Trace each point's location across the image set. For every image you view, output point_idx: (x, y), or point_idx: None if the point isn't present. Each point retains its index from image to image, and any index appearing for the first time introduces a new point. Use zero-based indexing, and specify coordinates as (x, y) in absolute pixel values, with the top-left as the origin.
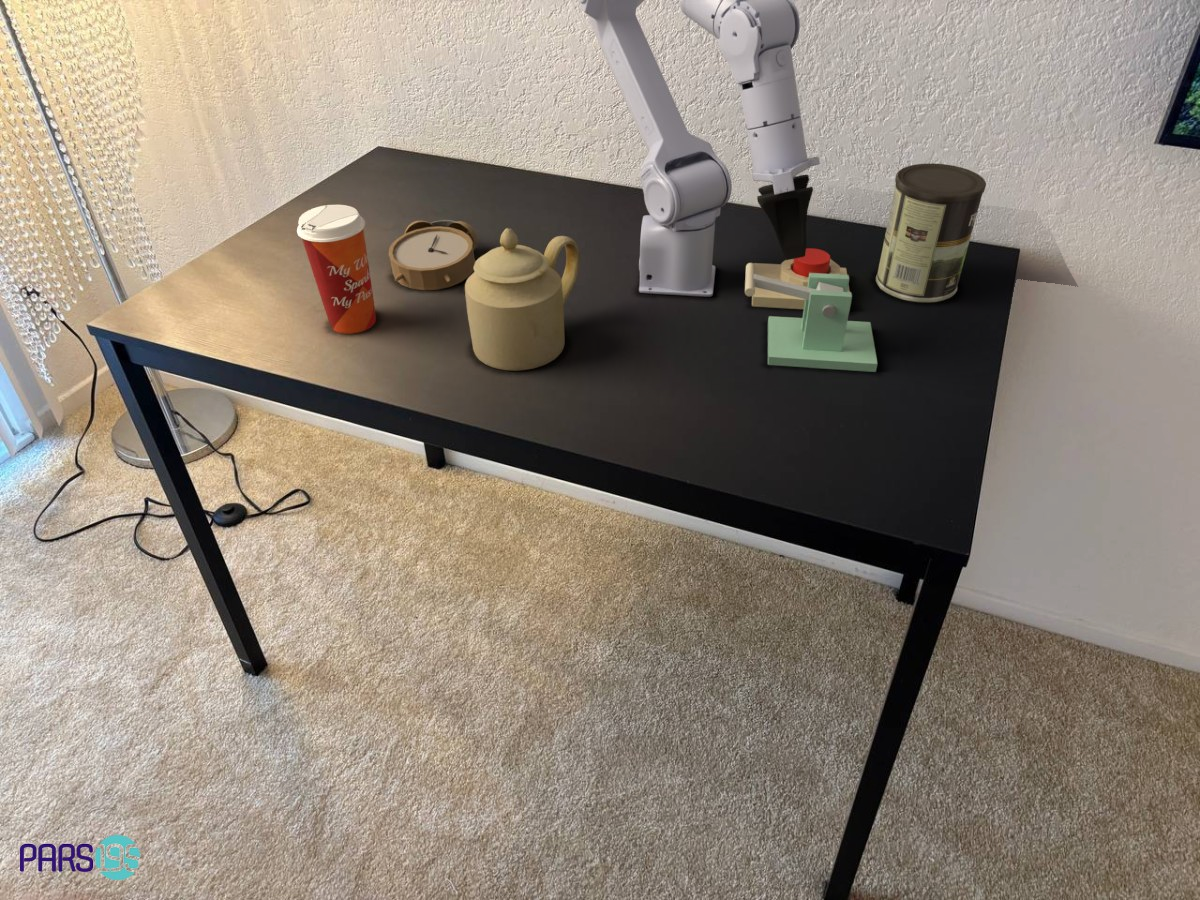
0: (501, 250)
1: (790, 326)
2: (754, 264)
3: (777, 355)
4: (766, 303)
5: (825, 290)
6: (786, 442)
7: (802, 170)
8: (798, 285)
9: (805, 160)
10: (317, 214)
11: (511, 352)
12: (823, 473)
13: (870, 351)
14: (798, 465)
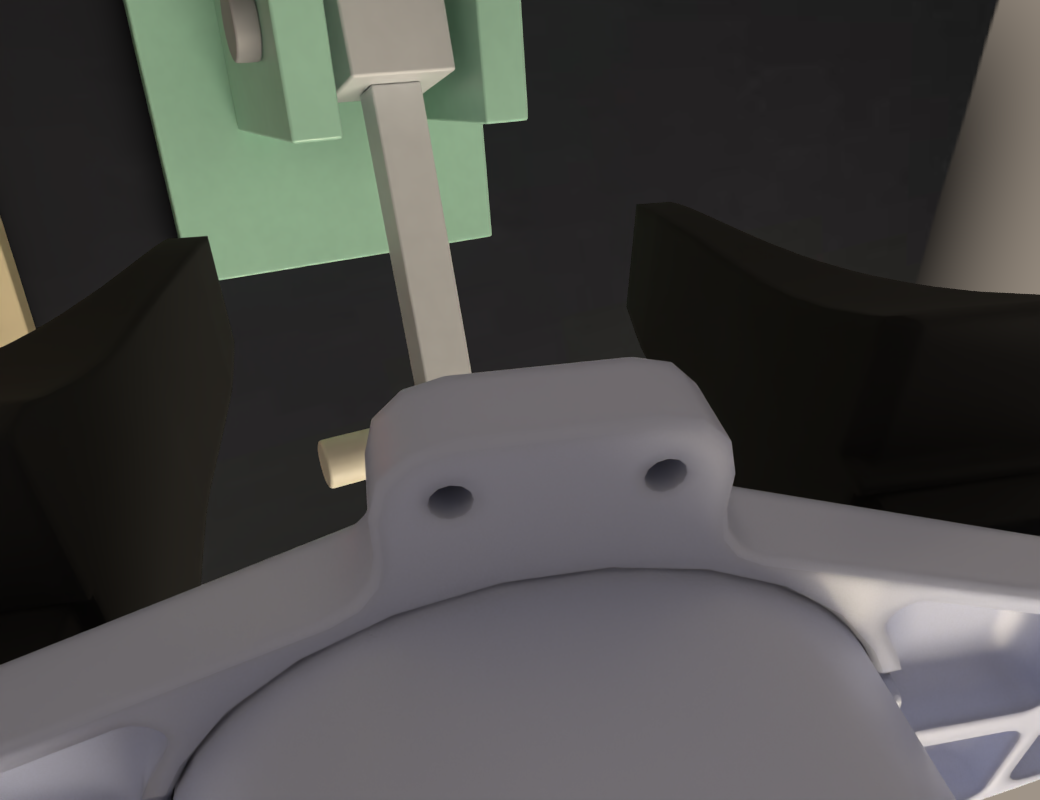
0: None
1: (255, 179)
2: (329, 453)
3: (479, 206)
4: (27, 315)
5: (428, 37)
6: (802, 128)
7: (925, 523)
8: (397, 191)
9: (732, 589)
10: None
11: None
12: (894, 23)
13: None
14: (871, 90)
